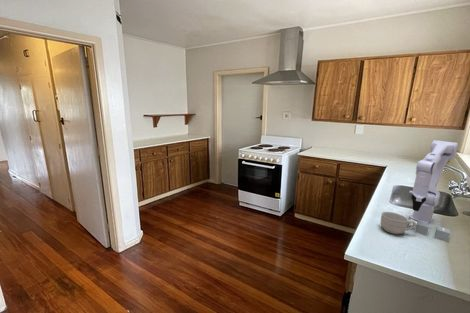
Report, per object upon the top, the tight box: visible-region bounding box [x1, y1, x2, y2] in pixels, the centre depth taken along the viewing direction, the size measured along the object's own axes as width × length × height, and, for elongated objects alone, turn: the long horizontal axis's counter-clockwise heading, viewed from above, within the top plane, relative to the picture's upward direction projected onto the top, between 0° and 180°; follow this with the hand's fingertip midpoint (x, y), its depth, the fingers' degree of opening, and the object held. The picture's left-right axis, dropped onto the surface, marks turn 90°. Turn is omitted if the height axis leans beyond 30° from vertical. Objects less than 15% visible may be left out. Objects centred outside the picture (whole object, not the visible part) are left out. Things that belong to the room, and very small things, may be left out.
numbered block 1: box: [434, 225, 451, 243], centre depth 106 cm, size 4×4×5 cm
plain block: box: [414, 220, 430, 237], centre depth 111 cm, size 4×4×4 cm
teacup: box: [380, 211, 417, 235], centre depth 110 cm, size 14×11×8 cm
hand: (415, 210), depth 113 cm, fingers closed
